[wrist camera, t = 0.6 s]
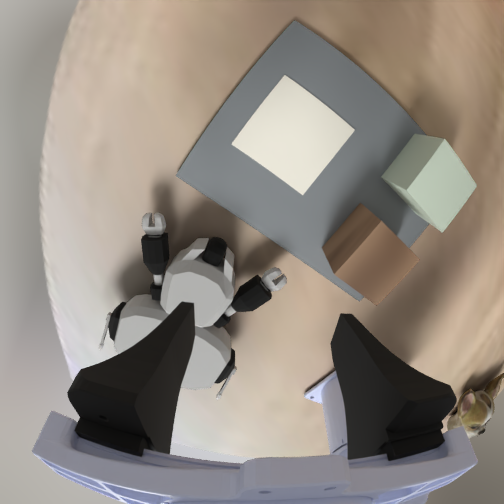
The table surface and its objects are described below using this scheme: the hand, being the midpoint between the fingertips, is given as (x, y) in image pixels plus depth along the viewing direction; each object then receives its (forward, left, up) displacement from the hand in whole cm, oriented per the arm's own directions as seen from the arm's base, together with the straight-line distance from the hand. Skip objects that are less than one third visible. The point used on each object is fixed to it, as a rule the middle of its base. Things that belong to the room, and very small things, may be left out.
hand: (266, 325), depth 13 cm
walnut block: (-6, -5, -9) cm, 11 cm away
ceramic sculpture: (-48, +2, -9) cm, 49 cm away
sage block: (-6, -12, -9) cm, 16 cm away
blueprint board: (-1, -8, -9) cm, 12 cm away
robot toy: (+2, +8, -9) cm, 13 cm away
